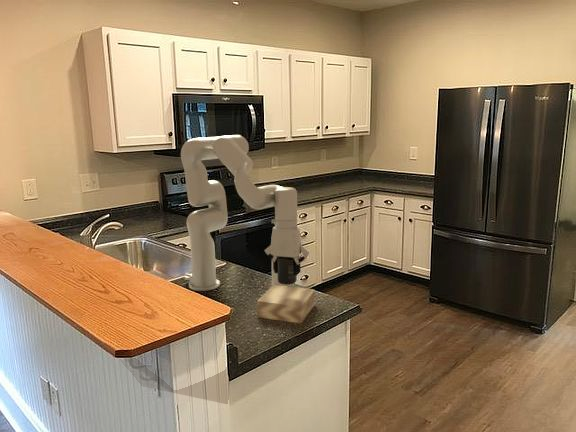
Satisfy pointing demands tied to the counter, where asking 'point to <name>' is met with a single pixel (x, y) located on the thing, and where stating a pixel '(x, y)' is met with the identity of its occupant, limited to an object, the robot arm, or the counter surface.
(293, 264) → the supplement bottle
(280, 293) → the maple block
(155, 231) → the counter surface
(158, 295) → the counter surface
